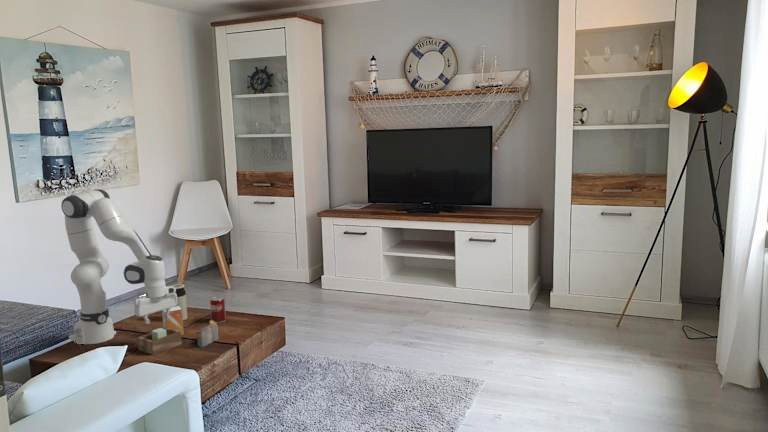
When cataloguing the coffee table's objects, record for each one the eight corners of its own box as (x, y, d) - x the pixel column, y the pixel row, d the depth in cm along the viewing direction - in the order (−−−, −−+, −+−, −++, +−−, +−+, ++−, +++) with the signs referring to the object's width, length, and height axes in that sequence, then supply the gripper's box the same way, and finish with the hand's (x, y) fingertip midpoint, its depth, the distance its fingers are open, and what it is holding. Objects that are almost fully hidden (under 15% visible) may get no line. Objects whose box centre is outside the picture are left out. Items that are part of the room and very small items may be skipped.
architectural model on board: (213, 338, 279) (211, 319, 277) (218, 339, 278) (217, 319, 276) (197, 347, 268) (195, 326, 267) (202, 348, 267) (200, 327, 266)
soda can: (221, 323, 298) (219, 301, 297) (208, 322, 300) (207, 300, 299) (228, 319, 305) (227, 296, 303) (216, 318, 307) (214, 296, 306)
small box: (166, 338, 279) (164, 312, 277) (163, 334, 285) (161, 308, 283) (184, 334, 284) (182, 308, 282) (180, 331, 289) (178, 305, 287)
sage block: (158, 347, 265) (157, 332, 264) (152, 345, 268) (151, 330, 267) (167, 344, 269) (166, 329, 268) (161, 342, 271) (160, 327, 270)
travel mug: (190, 317, 310) (188, 284, 307) (182, 322, 302) (179, 288, 299) (177, 316, 311) (174, 283, 309) (168, 321, 304) (165, 287, 301)
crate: (138, 350, 265) (137, 337, 264) (167, 339, 278) (166, 327, 277) (153, 354, 259) (152, 341, 258) (181, 344, 272) (180, 331, 271)
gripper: (139, 297, 254) (140, 328, 256) (178, 287, 271) (180, 316, 273) (130, 295, 258) (132, 325, 260) (170, 285, 275) (171, 313, 277)
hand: (157, 320), depth 267 cm, fingers open, 8 cm apart
